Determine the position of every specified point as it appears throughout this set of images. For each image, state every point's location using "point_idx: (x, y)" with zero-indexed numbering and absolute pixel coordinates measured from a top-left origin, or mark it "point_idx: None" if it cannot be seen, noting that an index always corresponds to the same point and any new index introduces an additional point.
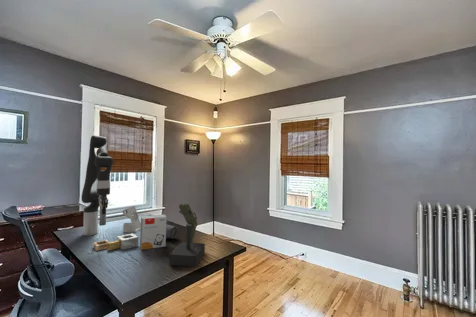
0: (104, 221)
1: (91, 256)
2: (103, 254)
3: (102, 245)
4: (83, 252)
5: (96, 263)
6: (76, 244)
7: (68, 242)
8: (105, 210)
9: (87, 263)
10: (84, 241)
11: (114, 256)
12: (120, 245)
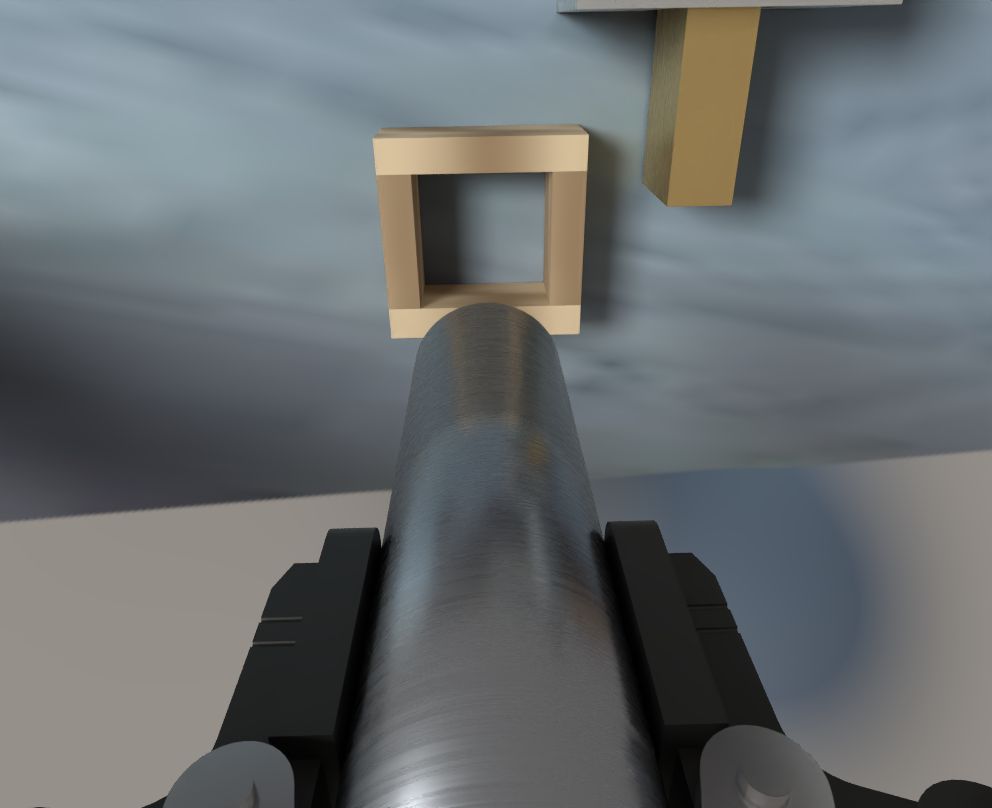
0: (566, 391)
1: (716, 384)
2: (766, 269)
3: (579, 255)
4: None
5: (958, 382)
6: (153, 445)
7: (18, 500)
8: (753, 664)
9: (876, 444)
10: (60, 355)
11: (953, 177)
12: (762, 8)
